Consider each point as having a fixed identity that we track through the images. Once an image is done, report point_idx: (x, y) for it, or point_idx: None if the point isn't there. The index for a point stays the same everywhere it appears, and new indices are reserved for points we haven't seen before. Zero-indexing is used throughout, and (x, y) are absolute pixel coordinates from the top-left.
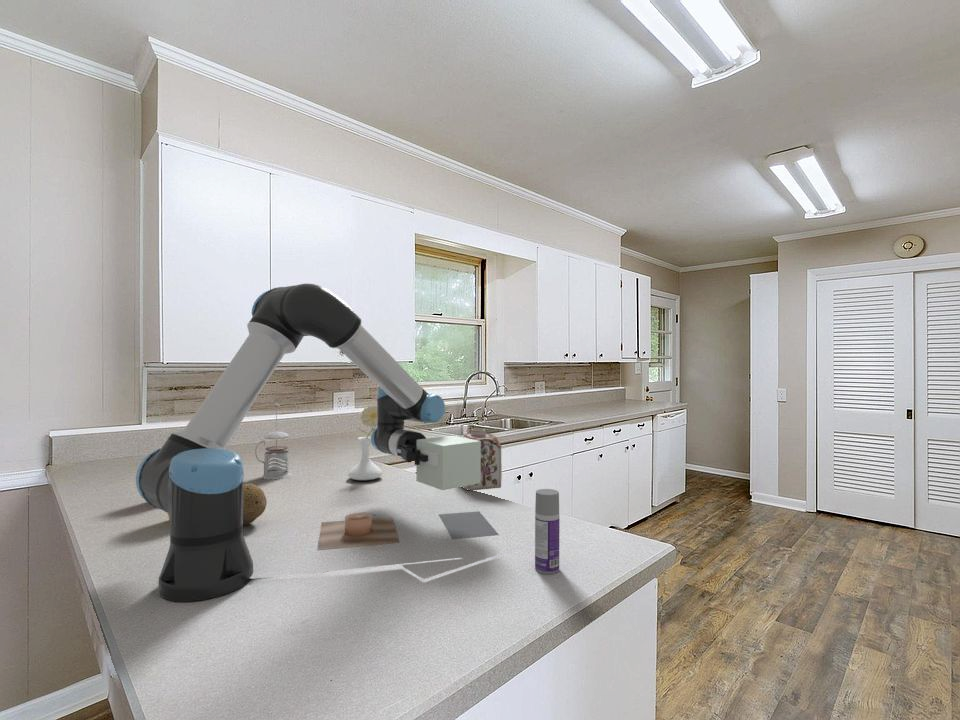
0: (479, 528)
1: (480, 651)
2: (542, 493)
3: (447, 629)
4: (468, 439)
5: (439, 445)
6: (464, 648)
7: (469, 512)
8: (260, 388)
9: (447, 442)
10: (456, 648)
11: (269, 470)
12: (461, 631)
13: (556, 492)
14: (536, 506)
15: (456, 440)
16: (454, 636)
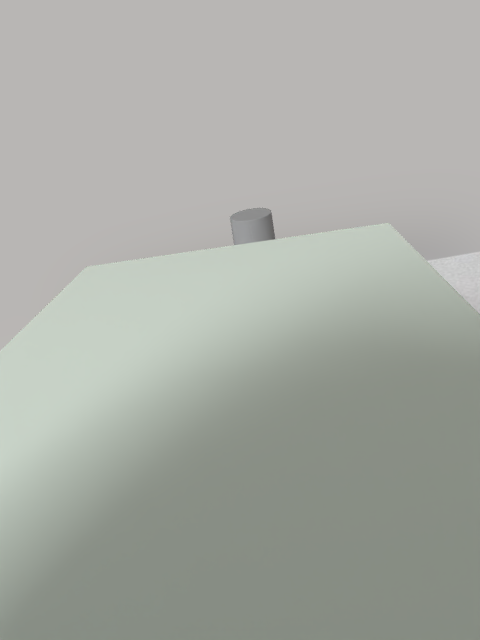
0: None
1: (449, 263)
2: (265, 211)
3: (477, 286)
4: (60, 314)
5: (402, 240)
6: (465, 268)
7: None
8: None
9: (290, 277)
10: (474, 269)
11: None
12: (460, 281)
13: (241, 212)
14: (273, 237)
15: (162, 311)
16: (471, 278)
